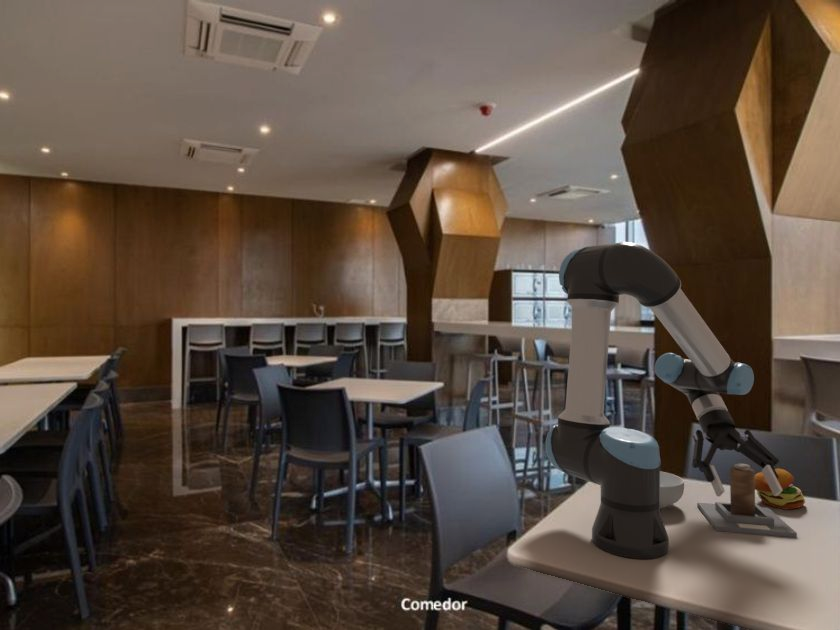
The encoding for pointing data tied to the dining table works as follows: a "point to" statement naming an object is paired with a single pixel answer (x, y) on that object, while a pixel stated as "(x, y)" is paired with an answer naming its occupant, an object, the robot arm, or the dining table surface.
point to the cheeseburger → (787, 497)
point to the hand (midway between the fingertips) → (749, 493)
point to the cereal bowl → (670, 489)
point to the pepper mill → (742, 490)
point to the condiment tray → (745, 520)
